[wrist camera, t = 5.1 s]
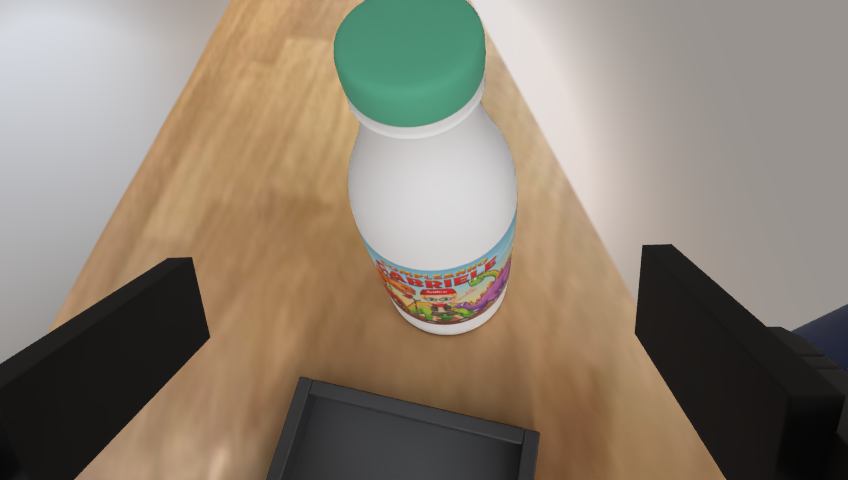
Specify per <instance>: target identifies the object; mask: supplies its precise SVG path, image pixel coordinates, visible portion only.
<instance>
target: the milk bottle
mask: <svg viewBox="0 0 848 480" xmlns="http://www.w3.org/2000/svg"><path fill="white" fill-rule="evenodd" d="M485 54H486V51H485V34H484V29H483V27H482V24H481V21H480V18H479V16H478V14H477V12H476V11H475V10H474V8H473V7H472V6H471V5H470V4H469V3H468V2H467V1H465V0H365V1H364V2H362V3H361V4H359V5H358V6H357V7H355V8H354V9H353V10H352V11H351V12H350V13H349V14H348V15H347V16H346V18H345V19H344V20H343V22H342V23H341V25H340V26H339V28H338V30H337V33H336V36H335V40H334V61H335V65H336V69H337V72H338V76H339V79H340V82H341V84H342V87H343V89H344V91H345V94H346V96H347V100H348V104H349V107H350V109H351V111H352V113H353V114H354V116H355V117H356V118H357V119H358V120H359V121H360V126H359V132H358V135H357V138H356V141H355V144H354V147H353V150H352V154H351V158H350V163H349V172H348V192H349V199H350V204H351V209H352V213H353V216H354V219H355V222H356V224H357V227H358V229H359V232H360V234H361V237H362V239H363V242H364V244H365V246H366V248H367V250H368V252H369V255H370V257H371V259H372V261H373V263H374V265H375V267H376V269H377V271H378V273H379V275H380V277H381V279H382V281H383V283H384V285H385V287H386V289H387V291H388V293H389V295H390V297H391V299H392V301H393V303H394V305H395V306H396V308H397V309H398V311H399V312H400V313H401V315H402V316H403V317H404V318H405V319H406V320H407V321H409V322H410V323H411V324H413V325H414V326H416V327H417V328H419V329H421V330H424V331H426V332H430V333H433V334H439V335H454V334H460V333H464V332H468V331H470V330H473V329H475V328H477V327H479V326H480V325H482V324H483V323H485V322H486V321H487V320H488V319H490V318H491V316H492V315H493V314H494V313H495V312H496V311H497V309H498V308H499V306H500V305H501V303H502V301H503V298H504V296H505V292H506V288H507V284H508V278H509V271H510V263H511V256H512V248H513V240H514V231H515V222H516V212H517V178H516V170H515V165H514V161H513V158H512V154H511V151H510V149H509V146H508V144H507V142H506V140H505V138H504V136H503V134H502V133H501V131H500V129H499V128H498V127H497V125H496V124H495V122H494V121H493V120H492V119H491V117H490V116H489V115H488V114H487V112H486V111H485V109H484V108H483V106H482V104H481V102H480V100H481V97H482V95H483V92H484V87H485V74H484V70H485Z"/></svg>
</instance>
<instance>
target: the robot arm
mask: <svg viewBox="0 0 848 480" xmlns="http://www.w3.org/2000/svg"><path fill="white" fill-rule="evenodd" d="M635 335H636V336H637V338H638V339H639V341H640V343H641V344H642V346H643V347H644V349H645V350H646V352H647V354H648V355H649V357H650V358H651V360H652V362H653V363H654V365H655V366H656V368H657V370H658V371H659V373H660V374H661V376H662V378H663V379H664V381H665V382H666V384H667V386H668V387H669V389H670V390H671V392H672V394H673V395H674V397H675V398H676V400H677V402H678V403H679V405H680V406H681V408H682V410H683V411H684V413H685V414H686V416H687V418H688V419H689V421H690V422H691V424H692V425H693V427H694V429H695V430H696V432H697V433H698V435H699V437H700V438H701V440H702V441H703V443H704V445H705V446H706V448H707V449H708V451H709V453H710V454H711V456H712V457H713V459H714V461H715V462H716V464H717V465H718V467H719V469H720V470H721V472H722V473H723V475H724V477H725V478H726V480H848V372H846V371H845V370H841V369H840V366H839V365H838V364H837V363H835V362H834V361H833V360H832V359H830V358H829V357H825V354H824V353H823V352H822V351H820V350H819V349H818V348H817V347H815V346H814V345H813V344H812V343H810V342H809V341H808V340H807V339H805V338H803V337H801V336H799V335H796V334H794V333H792V332H790V331H788V330H786V329H784V328H782V327H766V326H765V325H764V324H763V323H762V322H760V321H759V320H758V319H757V318H756V317H755V316H754V315H752V314H751V313H750V312H749V311H748V310H747V309H745V308H744V307H743V306H742V305H741V304H740V303H738V302H737V301H736V300H735V299H734V298H733V297H732V296H730V295H729V294H728V293H727V292H726V291H725V290H724V289H722V288H721V287H720V286H719V285H718V284H717V283H715V282H714V281H713V280H712V279H711V278H710V277H709V276H707V275H706V274H705V273H704V272H703V271H702V270H701V269H699V268H698V267H697V266H696V265H695V264H694V263H693V262H691V261H690V260H689V259H688V258H687V257H686V256H684V255H683V254H682V253H681V252H680V251H679V250H677V249H676V248H675V247H674V246H673V245H672V244H665V245H643V246H642V257H641V268H640V280H639V291H638V302H637V313H636V325H635ZM209 338H210V334H209V330H208V326H207V321H206V317H205V312H204V308H203V304H202V299H201V295H200V291H199V286H198V282H197V277H196V273H195V269H194V264H193V260H192V257H186V258H167V259H166V260H164V261H162V262H161V263H159V264H158V265H156V266H155V267H153V268H151V269H150V270H148V271H147V272H145V273H144V274H142V275H140V276H139V277H137V278H136V279H134V280H132V281H131V282H129V283H128V284H126V285H125V286H123V287H121V288H120V289H118V290H117V291H115V292H113V293H112V294H110V295H109V296H107V297H106V298H104V299H102V300H101V301H99V302H98V303H96V304H94V305H93V306H91V307H90V308H88V309H87V310H85V311H83V312H82V313H80V314H79V315H77V316H75V317H74V318H72V319H71V320H69V321H68V322H66V323H64V324H63V325H61V326H60V327H58V328H56V329H55V330H53V331H52V332H50V333H49V334H47V335H45V336H44V337H42V338H41V339H39V340H38V341H36V342H34V343H33V344H31V345H30V346H28V347H26V348H25V349H23V350H22V351H20V352H19V353H17V354H15V355H14V356H12V357H11V358H9V359H7V360H6V361H4V362H3V363H1V364H0V480H74V479H75V478H76V477H77V476H78V475H79V474H80V473H81V472H82V471H83V470H84V469H85V468H86V467H87V466H88V464H89V463H90V462H91V461H92V460H93V459H94V458H95V457H96V456H97V455H98V454H99V453H100V452H101V451H102V450H103V449H104V448H105V447H106V446H107V445H108V444H109V443H110V442H111V440H112V439H113V438H114V437H115V436H116V435H117V434H118V433H119V432H120V431H121V430H122V429H123V428H124V427H125V426H126V425H127V424H128V423H129V422H130V421H131V420H132V419H133V418H134V416H135V415H136V414H137V413H138V412H139V411H140V410H141V409H142V408H143V407H144V406H145V405H146V404H147V403H148V402H149V401H150V400H151V399H152V398H153V397H154V396H155V395H156V394H157V393H158V391H159V390H160V389H161V388H162V387H163V386H164V385H165V384H166V383H167V382H168V381H169V380H170V379H171V378H172V377H173V376H174V375H175V374H176V373H177V372H178V371H179V370H180V369H181V367H182V366H183V365H184V364H185V363H186V362H187V361H188V360H189V359H190V358H191V357H192V356H193V355H194V354H195V353H196V352H197V351H198V350H199V349H200V348H201V347H202V346H203V345H204V343H205V342H206V341H207V340H208V339H209Z"/></svg>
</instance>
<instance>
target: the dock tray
mask: <svg viewBox="0 0 848 480" xmlns="http://www.w3.org/2000/svg"><path fill="white" fill-rule="evenodd" d="M539 436H540V433H539V432H537V431H533V430H528V429H525V430H524V429H523V428H520V427H515V426H511V425H507V424H502V423H498V422H494V421H490V420H485V419H481V418H477V417H472V416H468V415H464V414H460V413H455V412H451V411H447V410H443V409H438V408H434V407H430V406H425V405H421V404H417V403H413V402H408V401H404V400H400V399H395V398H391V397H387V396H383V395H378V394H374V393H370V392H366V391H361V390H357V389H353V388H348V387H344V386H340V385H336V384H331V383H327V382H323V381H318V380H313V379H310V378H306V377H300V378H299V381H298V384H297V387H296V390H295V393H294V397H293V400H292V403H291V406H290V409H289V412H288V415H287V418H286V421H285V424H284V427H283V430H282V433H281V436H280V439H279V442H278V445H277V448H276V451H275V454H274V457H273V460H272V463H271V466H270V469H269V472H268V475H267V478H266V480H534V475H535V468H536V460H537V452H538V444H539Z"/></svg>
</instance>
